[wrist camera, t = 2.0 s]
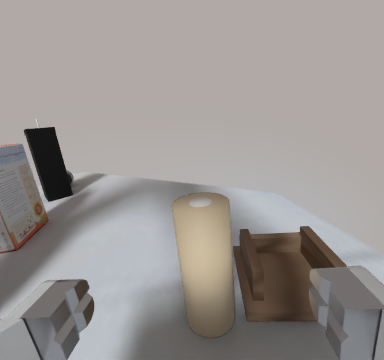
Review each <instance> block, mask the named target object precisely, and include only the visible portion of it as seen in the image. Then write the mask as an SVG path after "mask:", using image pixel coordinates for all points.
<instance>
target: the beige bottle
mask: <svg viewBox="0 0 384 360" xmlns="http://www.w3.org/2000/svg"><path fill="white" fill-rule="evenodd" d="M172 212H173V219H174V226H175V234H176V241H177V248H178V256H179V263H180V270H181V278H182V285H183V292H184V300H185V307H186V314H187V320H188V323H189V326H190V327H191V329H192V330H193V331H194V332H195V333H197V334H198V335H200V336H203V337H207V338H215V337H219V336H222V335H224V334H225V333H227V332H228V331H229V330H230V329H231V327H232V326H233V323H234V320H235V305H234V285H233V265H232V246H231V226H230V206H229V199H228V198H227V197H225V196H223V195H221V194H217V193H194V194H189V195H186V196H183V197H180V198H178V199H177V200H175V201H174V202H173V204H172Z"/></svg>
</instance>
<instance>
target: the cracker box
mask: <svg viewBox="0 0 384 360" xmlns="http://www.w3.org/2000/svg"><path fill="white" fill-rule="evenodd" d="M47 221H48V217H47V214H46V211H45V208H44V205H43V202H42V199H41V197H40V194H39V191H38V188H37V185H36V182H35V179H34V177H33V173H32V171H31V168H30V165H29V162H28V159H27V157H26V153H25V151H24V147H23V145H22V144H10V145H1V146H0V253H3V252H8V251H13V250H17V249H19V248H20V247H21V246H22V245H23V244H24V243H25V242H26V241H27V240H28V239H29V238H30V237H31V236H32V235H33V234H34V233H35V232H36V231H37V230H39V229H40V228H41V227H42V226H43V225H44V224H45V223H46V222H47Z"/></svg>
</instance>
